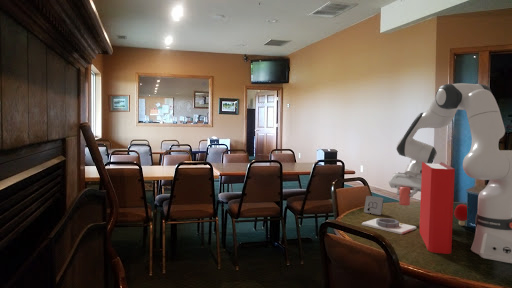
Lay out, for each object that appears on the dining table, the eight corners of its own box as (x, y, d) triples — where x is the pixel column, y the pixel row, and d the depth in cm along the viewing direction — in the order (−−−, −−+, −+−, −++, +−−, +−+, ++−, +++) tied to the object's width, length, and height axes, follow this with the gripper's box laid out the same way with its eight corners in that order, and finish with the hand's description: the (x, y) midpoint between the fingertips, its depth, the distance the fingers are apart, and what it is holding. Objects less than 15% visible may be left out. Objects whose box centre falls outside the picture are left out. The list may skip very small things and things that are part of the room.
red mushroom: (454, 222, 186) (454, 202, 186) (470, 224, 183) (471, 204, 182) (452, 226, 178) (453, 206, 178) (469, 229, 175) (470, 208, 174)
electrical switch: (363, 212, 205) (364, 195, 205) (367, 212, 209) (368, 195, 209) (380, 215, 199) (381, 198, 199) (384, 215, 203) (385, 197, 203)
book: (419, 232, 169) (422, 161, 167) (438, 233, 167) (441, 162, 165) (428, 252, 143) (431, 168, 141) (452, 254, 141) (455, 169, 139)
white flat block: (416, 228, 175) (416, 222, 175) (401, 234, 165) (401, 227, 165) (377, 220, 190) (377, 214, 189) (361, 224, 180) (361, 218, 180)
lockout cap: (411, 204, 187) (412, 187, 186) (407, 206, 183) (407, 188, 183) (402, 203, 190) (402, 186, 190) (397, 204, 187) (397, 187, 187)
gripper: (392, 168, 198) (382, 188, 192) (432, 172, 183) (422, 194, 177) (396, 176, 202) (386, 196, 196) (435, 180, 186) (426, 202, 180)
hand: (404, 195), depth 186 cm, fingers closed on lockout cap, 5 cm apart
